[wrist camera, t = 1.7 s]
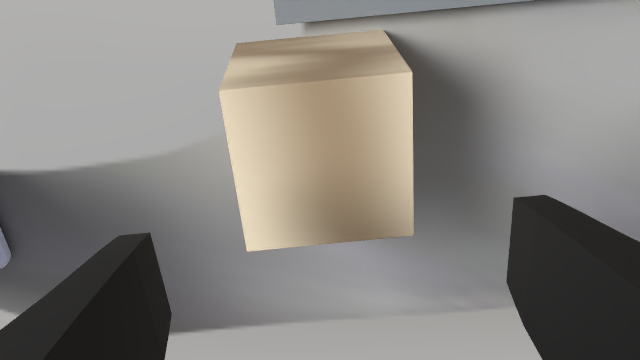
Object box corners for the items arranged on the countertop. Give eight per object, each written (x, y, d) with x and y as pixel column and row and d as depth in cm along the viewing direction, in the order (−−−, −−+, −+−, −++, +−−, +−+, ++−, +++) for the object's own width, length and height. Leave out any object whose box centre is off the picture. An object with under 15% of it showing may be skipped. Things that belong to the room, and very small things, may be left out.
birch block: (256, 173, 20) (246, 251, 16) (236, 43, 18) (218, 90, 14) (387, 161, 20) (413, 235, 16) (382, 29, 18) (412, 72, 14)
